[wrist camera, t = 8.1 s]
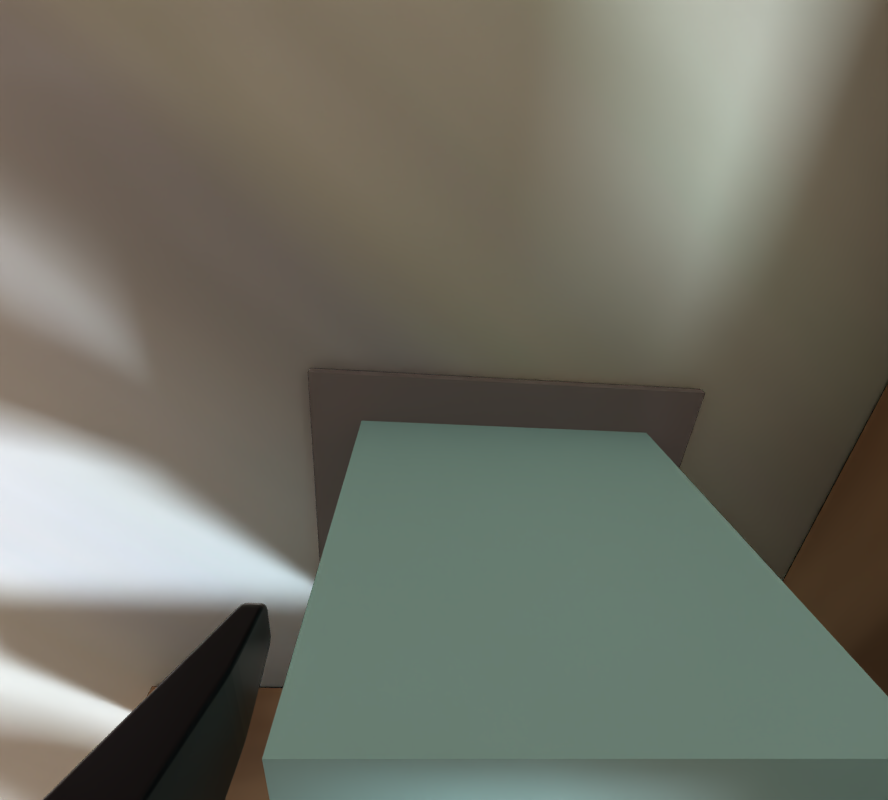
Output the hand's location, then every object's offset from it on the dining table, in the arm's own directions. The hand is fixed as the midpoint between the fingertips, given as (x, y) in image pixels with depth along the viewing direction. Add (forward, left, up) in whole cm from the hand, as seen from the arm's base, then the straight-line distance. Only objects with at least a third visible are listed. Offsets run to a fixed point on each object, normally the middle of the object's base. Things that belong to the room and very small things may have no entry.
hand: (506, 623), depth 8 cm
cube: (0, 0, -2) cm, 2 cm away
